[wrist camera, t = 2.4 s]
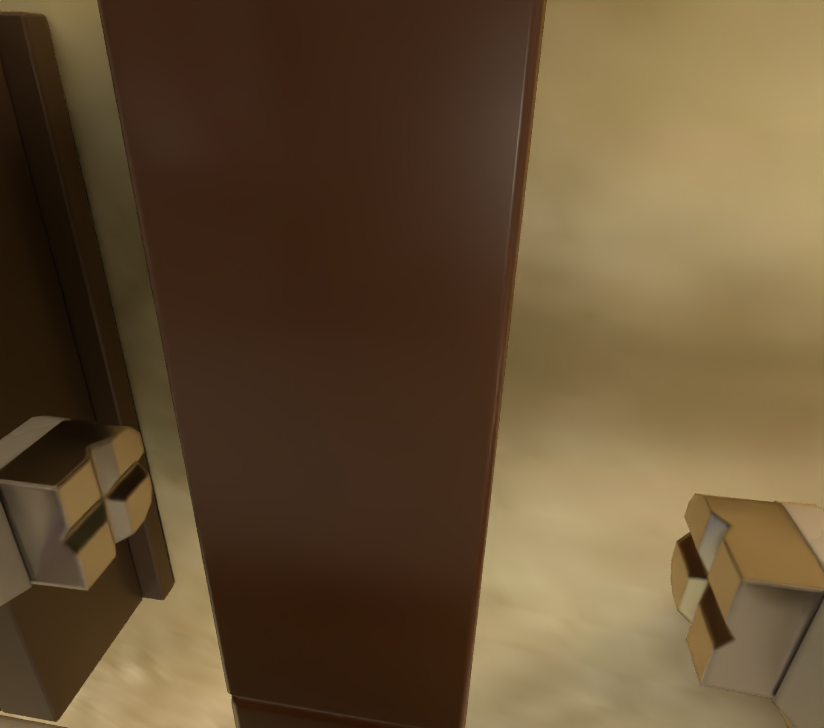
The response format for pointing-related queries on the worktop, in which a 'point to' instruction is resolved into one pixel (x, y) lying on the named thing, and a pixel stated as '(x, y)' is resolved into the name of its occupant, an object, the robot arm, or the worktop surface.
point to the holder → (58, 370)
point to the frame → (334, 324)
